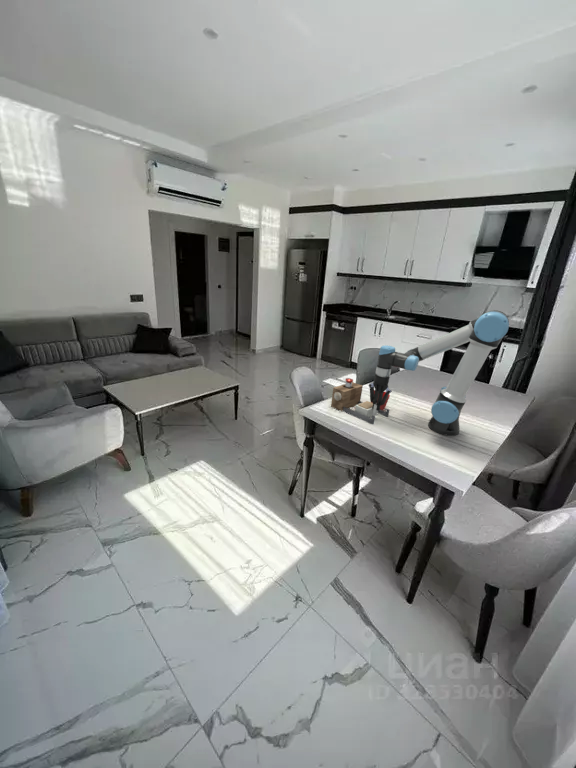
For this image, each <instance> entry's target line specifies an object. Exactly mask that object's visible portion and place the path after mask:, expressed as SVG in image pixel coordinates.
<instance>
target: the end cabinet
mask: <svg viewBox="0 0 576 768" xmlns="http://www.w3.org/2000/svg"><path fill="white" fill-rule="evenodd" d="M345 385H346V383H344V384H340V385H338V386H334V387H333V388H332V396H331V403H330V407H332V408H333V409H335V410H338V411H339V412H344V411H343V407H347V408H349V409H351V408H353V407H354V408H355V406H356V405H358V401H361V399H362V393H363V387H364V386H363V385H362V384H358V383H356V382H354V381H353V382H352V387H351V388H350V389H348V388H346V387H345Z"/></svg>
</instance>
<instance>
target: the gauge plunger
mask: <svg viewBox="0 0 576 768" xmlns="http://www.w3.org/2000/svg"><path fill="white" fill-rule="evenodd" d="M352 382H354V379H353V378H350V377H349V378H348V377H347V378H345V384H346V385H345V387H346V388H348V389H350V388H351V387H352Z"/></svg>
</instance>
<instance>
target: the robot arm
mask: <svg viewBox="0 0 576 768" xmlns="http://www.w3.org/2000/svg"><path fill="white" fill-rule="evenodd" d="M509 326H510V320H509V318H508V316H507V314H506V313H504V312H503V311H500V310H495V309H493V310H489V311H486V312H484V313H483V314H481V315H479V317H477V318H475V319H473V320H471V321H469V323H468V324H467V325H464V326H462V327H460V328H458V329H455V330H453V331H451V332H449V333H447V334H444V335H442V336H440V337H437V338H435V339H432V340H430V341H428V342H425V343H422V344H421V345H419V346H416V347H414V348H411V349H409V350H407V351H406V352H404V353H402V352H399V351H396V347H394V346H392V345H386V344H385V345H382V346H380V349H379V351H378V352H379V353H378V358H377V363H376V369H375V375H374V379H373V380H374V381H373V382H371V383H369V384H368V387H369V400H370V401H369V402H373V407H372V409H373V414H372V415H373V416H375V417H376V416H377V415H378V410H380V405H384V404H385V402H386V400H387V397H388V395H390V394H391V393H392V389H390V388H389V382H390V377H391V372H392V367H395V368H398V369H402V370H406V371H416V370H417V368H418V366H419V363H420V362H422V361H425V360H427V359H429V358H431V357H434V356H437V355H439V354H442V353H444V352H447V351H449V350H451V349H454V348H457V347H459V346H462V345H464V344H467V343H469V344H468V345H467V348H466V350H465V351H464V354H463V356H462V357H461V359H460V361H459V363H458V365H457V367H456V368H455V371H454V373H453V374H452V376H451V378H450V380H449V382H448V384H447V386H443V387H441V388H440V391H439V394H438V396H437V398H436V399H435V401H434V403H433V404H432V406H431V409H430V410H431V411H430V412H431V415H432V416H431V418H430V419H428V420H429V421H428V423H427V427H428V428H429V429H430V430H431V431H432V432H435V433H437V434H440V435H443V436H449V437H451V436H458V435H459V432H460V416H461V412H462V410H463V407H465V404H466V402H467V399H466V395H467V393H468V391H469V390H470V388H471V386H472V385H473V383H474V381H475V379H476V377H477V376H478V374H479V372H480V370H481V369H482V367H483V365H484V364H485V361H486V360H487V358H488V356H489V354H490V352H491V351H492V350H495V349H497V348H498V346H499V345H500V343H501V342H502V339H503V338H504V337H505V336H506V334H507V333H508V331H509V328H510V327H509ZM374 390H375V394H374ZM384 392H386V393H385V395H384V397H383V393H384ZM378 395H379V396H378ZM382 397H383V399H382ZM377 400H378V401H377Z"/></svg>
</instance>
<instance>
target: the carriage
mask: <svg viewBox="0 0 576 768" xmlns="http://www.w3.org/2000/svg"><path fill="white" fill-rule="evenodd" d="M362 402H363V403H360V404H358V405H356V406H354V411H356V412H358V413H360V414H363V415H365V416H367V417H370V418H372V416H374V415H372V414H373V409H372V407H373V403H371V401H368V400H365V401H362Z"/></svg>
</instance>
